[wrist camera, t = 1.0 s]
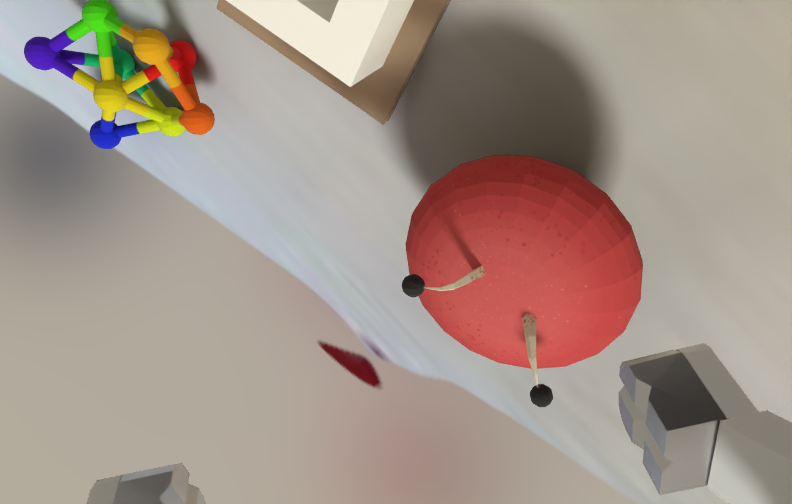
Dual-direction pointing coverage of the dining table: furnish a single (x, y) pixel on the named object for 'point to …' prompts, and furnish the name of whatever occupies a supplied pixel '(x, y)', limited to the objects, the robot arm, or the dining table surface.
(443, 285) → the mushroom
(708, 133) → the dining table surface
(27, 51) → the decorative model
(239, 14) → the base board
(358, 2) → the socket block
